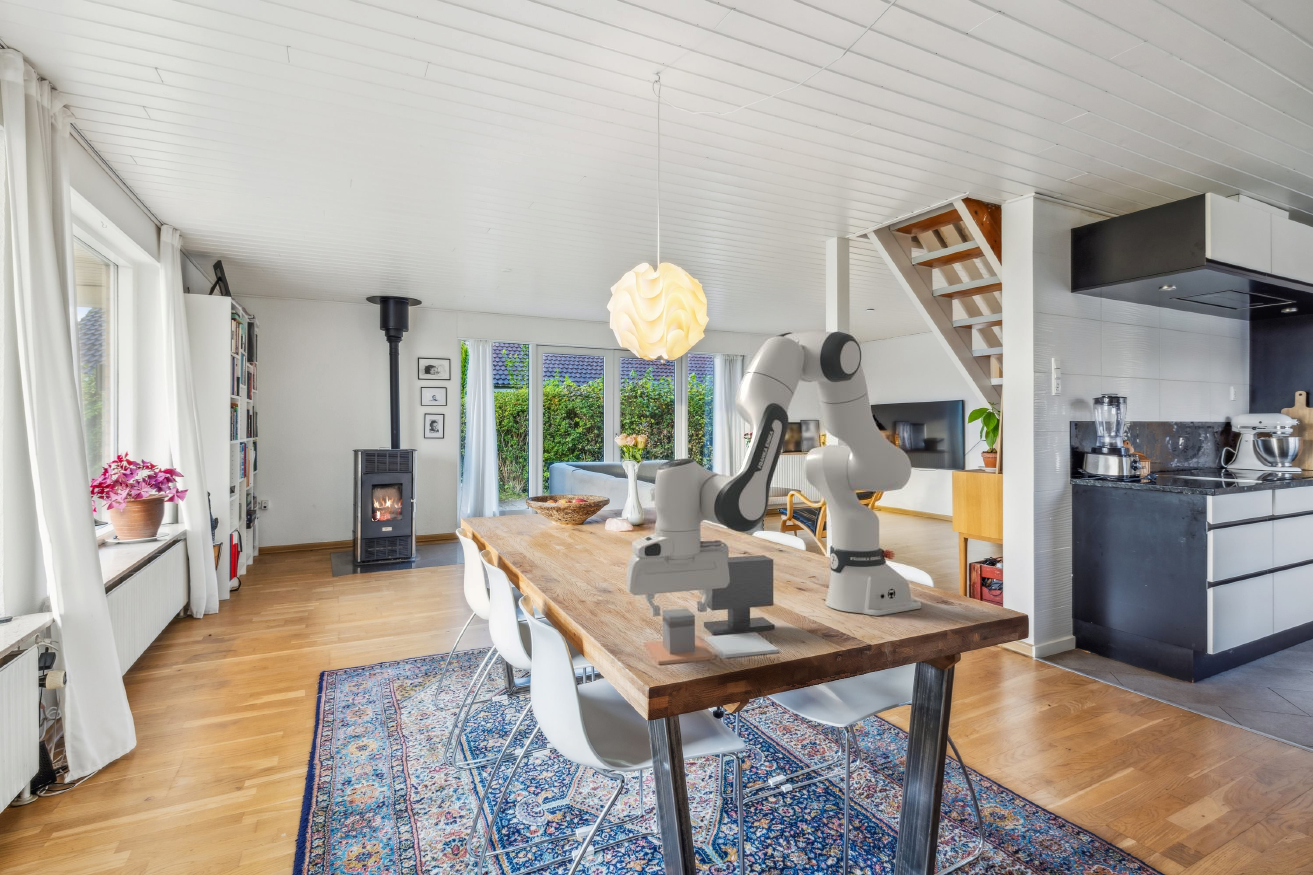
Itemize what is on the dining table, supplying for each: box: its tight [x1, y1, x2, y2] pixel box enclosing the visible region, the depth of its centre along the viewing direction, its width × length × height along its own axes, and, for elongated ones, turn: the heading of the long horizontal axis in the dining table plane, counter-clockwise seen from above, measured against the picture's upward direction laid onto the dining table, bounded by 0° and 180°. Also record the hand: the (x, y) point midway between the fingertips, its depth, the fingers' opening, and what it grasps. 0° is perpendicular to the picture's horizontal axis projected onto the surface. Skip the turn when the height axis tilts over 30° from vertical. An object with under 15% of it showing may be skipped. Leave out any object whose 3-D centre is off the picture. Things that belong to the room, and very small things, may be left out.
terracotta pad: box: [643, 637, 716, 665], centre depth 127 cm, size 11×11×1 cm
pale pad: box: [705, 631, 779, 659], centre depth 131 cm, size 11×11×1 cm
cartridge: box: [662, 608, 696, 654], centre depth 127 cm, size 5×5×7 cm
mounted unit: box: [703, 554, 775, 636], centre depth 142 cm, size 14×6×15 cm, turn 105°
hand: (679, 613), depth 128 cm, fingers open, 8 cm apart
